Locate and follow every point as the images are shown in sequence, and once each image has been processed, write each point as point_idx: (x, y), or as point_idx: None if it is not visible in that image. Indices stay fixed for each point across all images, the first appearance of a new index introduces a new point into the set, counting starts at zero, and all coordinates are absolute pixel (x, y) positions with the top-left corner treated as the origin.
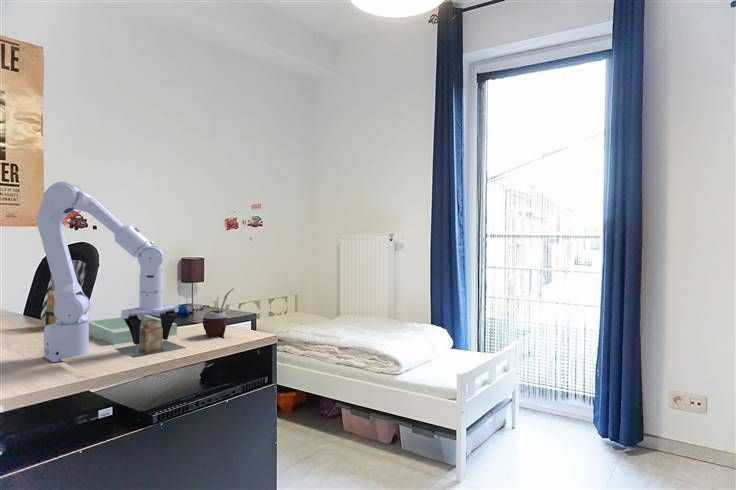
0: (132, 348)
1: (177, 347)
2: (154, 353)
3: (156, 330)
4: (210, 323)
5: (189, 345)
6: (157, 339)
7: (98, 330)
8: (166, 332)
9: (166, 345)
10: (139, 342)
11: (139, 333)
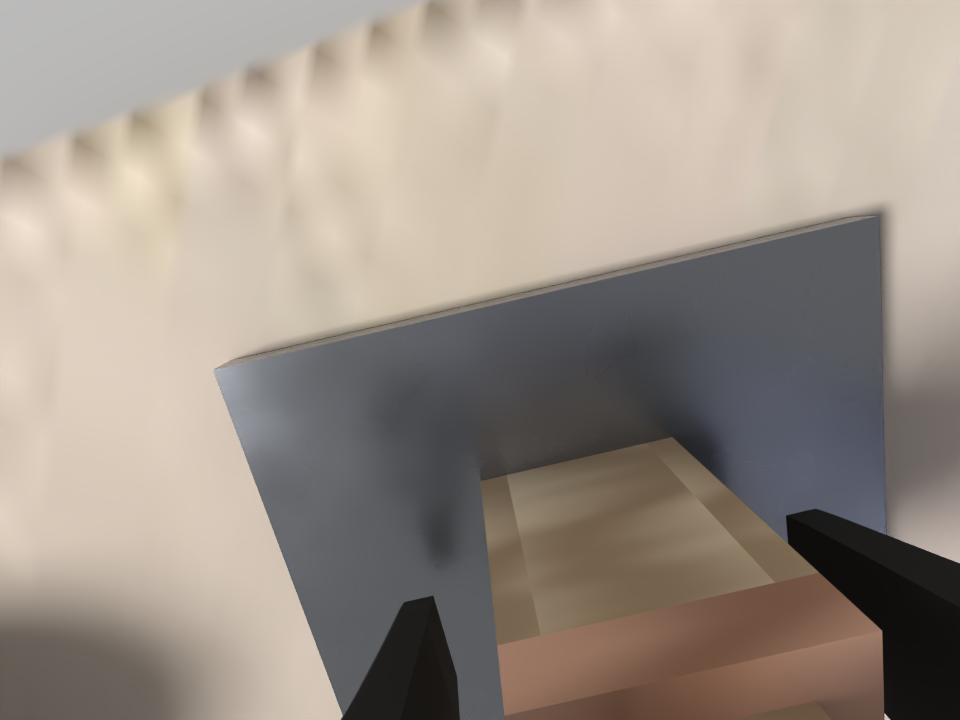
0: None
1: (315, 435)
2: (626, 281)
3: (634, 648)
4: None
5: (160, 576)
6: (567, 536)
7: None
8: (412, 674)
9: (411, 583)
10: (805, 522)
11: (947, 597)
